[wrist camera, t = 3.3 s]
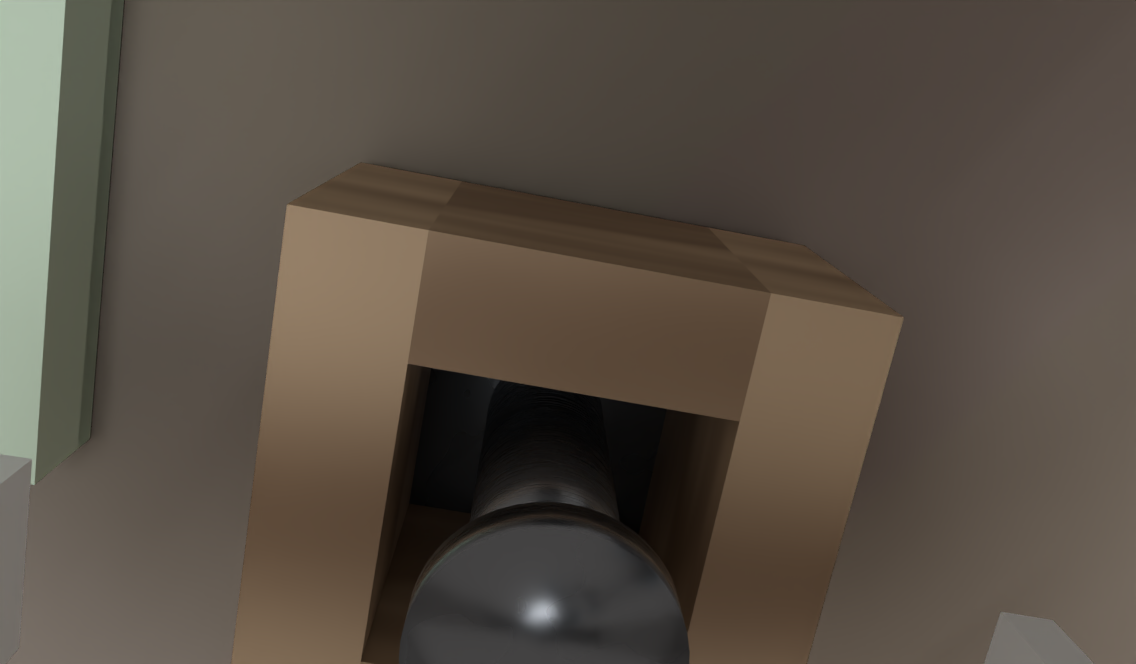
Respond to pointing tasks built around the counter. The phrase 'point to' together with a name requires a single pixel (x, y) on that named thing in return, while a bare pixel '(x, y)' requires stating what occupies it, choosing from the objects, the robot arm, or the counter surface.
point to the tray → (53, 217)
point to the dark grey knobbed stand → (539, 530)
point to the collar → (563, 362)
